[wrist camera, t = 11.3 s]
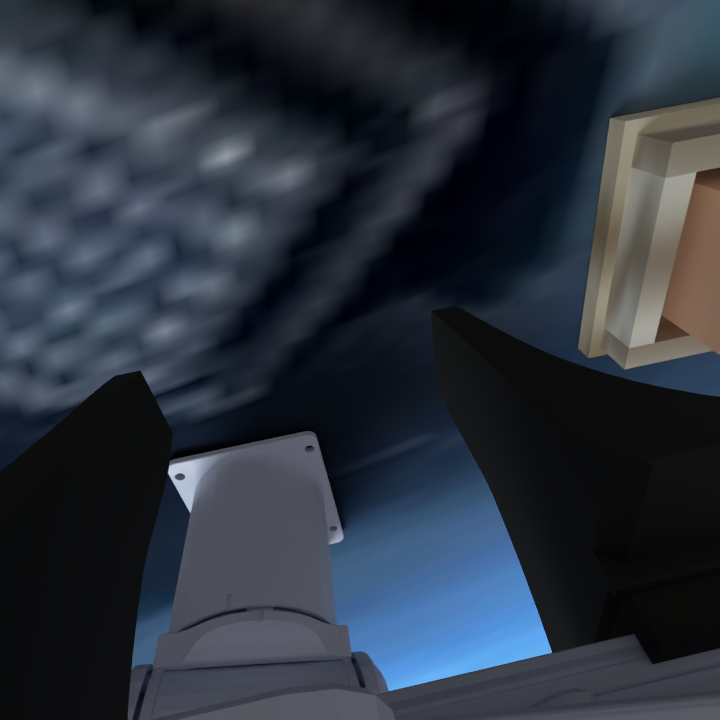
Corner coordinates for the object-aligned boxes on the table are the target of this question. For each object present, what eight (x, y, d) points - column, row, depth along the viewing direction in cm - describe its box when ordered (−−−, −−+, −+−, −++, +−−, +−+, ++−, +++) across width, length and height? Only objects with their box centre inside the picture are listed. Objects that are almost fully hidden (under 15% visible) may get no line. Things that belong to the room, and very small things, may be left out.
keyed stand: (739, 314, 25) (790, 343, 23) (577, 348, 25) (611, 381, 22) (823, 77, 19) (906, 81, 16) (610, 118, 19) (661, 128, 16)
